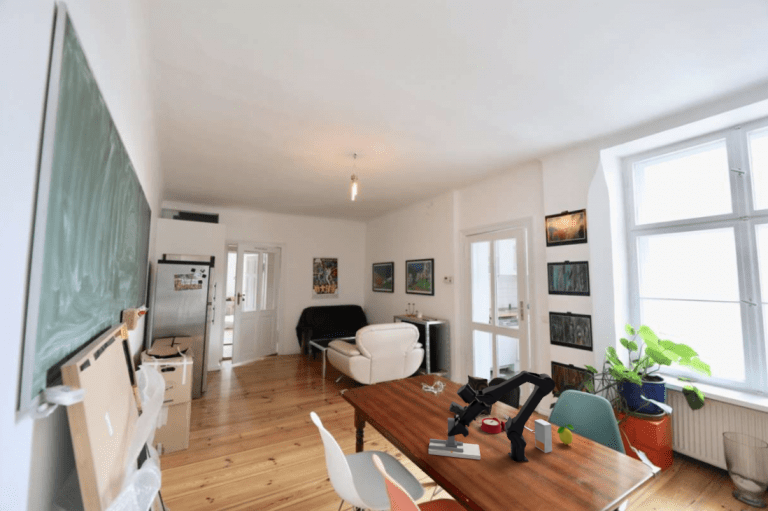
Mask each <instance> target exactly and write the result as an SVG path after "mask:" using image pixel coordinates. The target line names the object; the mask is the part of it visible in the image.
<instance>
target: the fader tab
mask: <svg viewBox="0 0 768 511" xmlns="http://www.w3.org/2000/svg"><path fill="white" fill-rule="evenodd" d="M454 421H455V418H454V417H447V434H448V433H449V432H450V430H451V429H452V428H453V426H454ZM455 437H456V435H454V436H450V437H449V436H448V435H447V439H445V440H446V447H454V448H457V441H458V440H456V438H455Z"/></svg>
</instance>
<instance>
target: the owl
mask: <svg viewBox="0 0 768 511" xmlns="http://www.w3.org/2000/svg"><path fill="white" fill-rule="evenodd" d="M467 378H468V379H467V383H468V384H469V385H470V387H471V388H472V389H473V390H474V391H475V390H483V389H484V388H487V387H490V386H489V379H487V378H484V377H479V376H473V375H469V374H468V375H467ZM474 400H475V399H474ZM474 400H473V401H474ZM473 401H472V402H473ZM472 402H471V403H472ZM471 403H469V404H471ZM469 404H468V405H469ZM486 405H487V404H486ZM489 406H490V408H489V412H490V413H488V412H487V411H486V410H484V411H483V412H482V413H481V414H480V415H483V416H487V415H488V416H491V415H492V409H493V405H489Z"/></svg>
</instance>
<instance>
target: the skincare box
mask: <svg viewBox="0 0 768 511" xmlns="http://www.w3.org/2000/svg"><path fill="white" fill-rule="evenodd" d="M533 423H534V431H535V432H534V447H535V448H537V449H538V450H540V451H542V452H544V453H545V454H546V453H551V452H553V443H552V442H553V439H552V438H553V437H552V424H551V423H549V422H548V421H546V420H544V419H542V418H539V419H535V420H534V422H533Z"/></svg>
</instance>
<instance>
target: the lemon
mask: <svg viewBox="0 0 768 511" xmlns="http://www.w3.org/2000/svg"><path fill="white" fill-rule="evenodd" d="M566 423H567V422H565V423H564V425H563V426H559V427H558V429H557V434H558V437H559V440H560V441H561V442H562V443H563V444H564V445H566V446H567V445H569V444H571V443H573V439H574V438H573V434H572V431H573V430H574V429H575V428H574V426H573V425H572V424H570V423H568V424H566ZM566 426H567V427H566ZM571 430H572V431H571Z"/></svg>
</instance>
